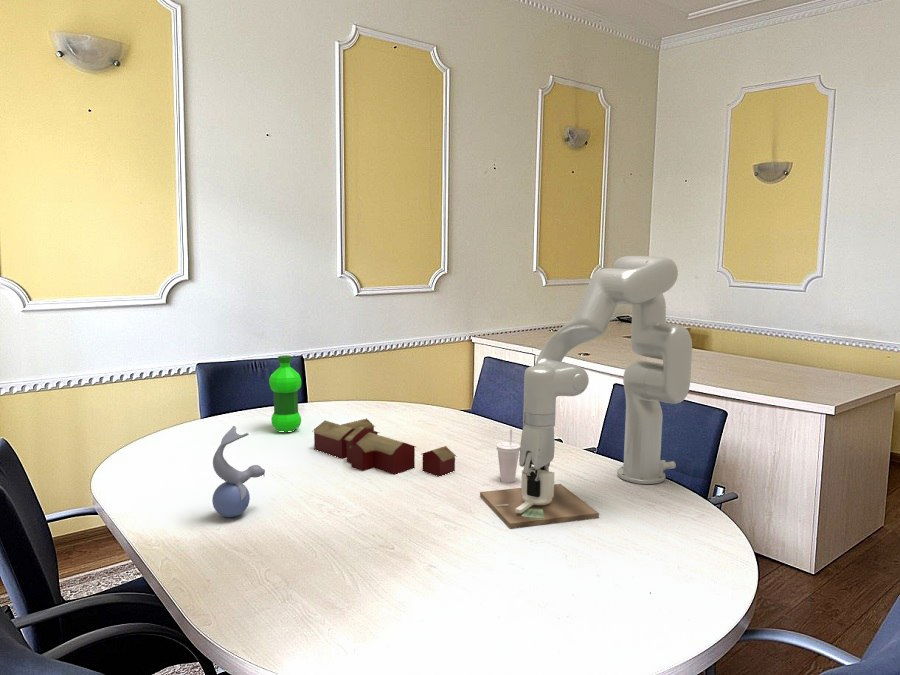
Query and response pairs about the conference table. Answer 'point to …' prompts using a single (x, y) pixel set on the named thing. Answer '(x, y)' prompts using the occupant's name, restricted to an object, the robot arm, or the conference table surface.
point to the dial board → (538, 508)
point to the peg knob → (545, 491)
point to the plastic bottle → (285, 396)
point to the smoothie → (508, 459)
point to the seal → (232, 480)
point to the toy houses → (377, 449)
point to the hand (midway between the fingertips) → (537, 492)
